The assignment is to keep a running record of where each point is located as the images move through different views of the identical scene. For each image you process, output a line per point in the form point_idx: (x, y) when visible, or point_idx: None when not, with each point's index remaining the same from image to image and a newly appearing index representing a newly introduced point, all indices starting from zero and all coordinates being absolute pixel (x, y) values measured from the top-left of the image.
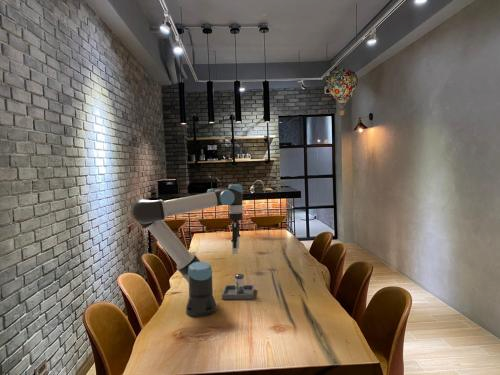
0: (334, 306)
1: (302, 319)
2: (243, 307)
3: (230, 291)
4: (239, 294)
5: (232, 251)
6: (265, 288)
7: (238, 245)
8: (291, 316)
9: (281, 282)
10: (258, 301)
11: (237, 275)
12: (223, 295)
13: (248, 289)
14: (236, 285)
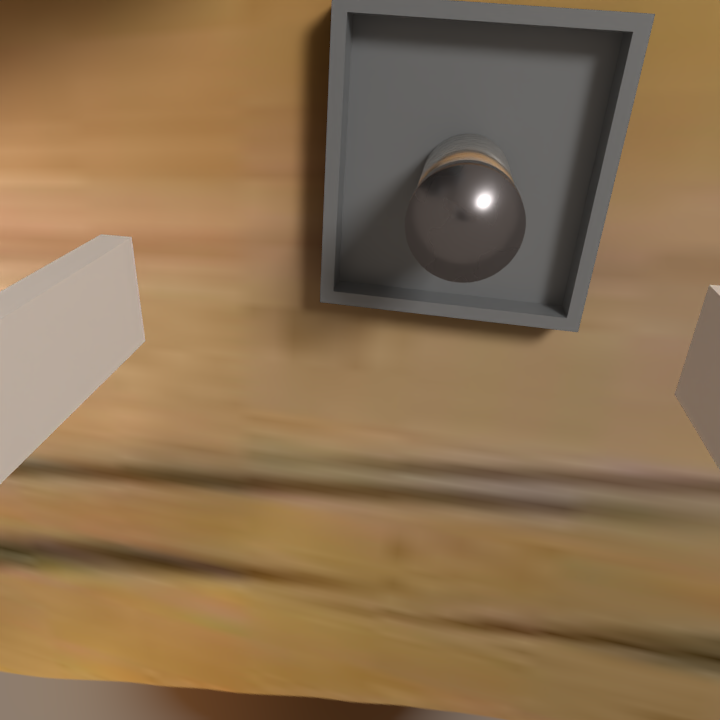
0: (209, 679)
1: (27, 517)
2: (164, 206)
3: (533, 81)
4: (326, 185)
5: (68, 253)
6: (586, 406)
7: (704, 420)
8: (55, 477)
9: (710, 539)
10: (288, 325)
11: (450, 203)
12: (333, 12)
13: (556, 267)
14: (427, 166)
